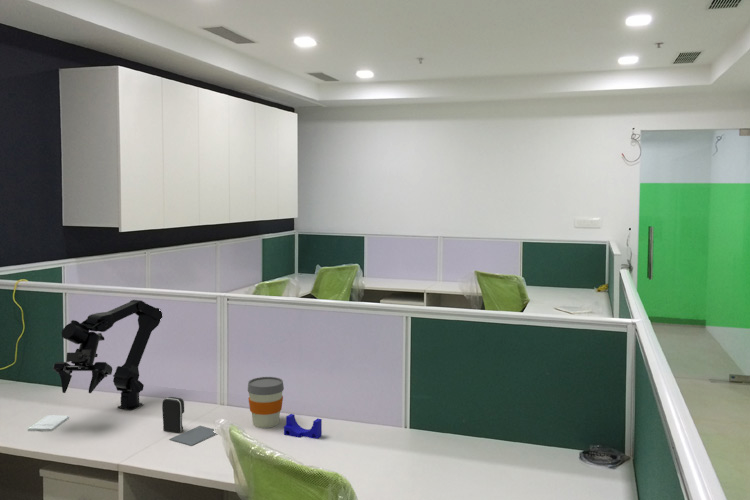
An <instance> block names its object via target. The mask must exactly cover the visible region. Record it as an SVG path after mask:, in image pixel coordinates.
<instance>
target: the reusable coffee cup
mask: <svg viewBox="0 0 750 500" xmlns="http://www.w3.org/2000/svg"><path fill="white" fill-rule="evenodd" d="M283 391H284V380H283V379H282V378H280V377H276V376H275V377H274V376H262V377H261V376H259V377H256V378H252V379H249V380H248V384H247V392H248V396H249V397H248V399H247V400H248V404H249V411H250V412H251V417H252V418H251V419H252V425H253V426H254V427H256V428H262V429H263V428H264V429H267V428H272V427H276V426H278V425H279V423H280V415H281V410H282V408H283V401H284V396H283Z"/></svg>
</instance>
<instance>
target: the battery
mask: <svg viewBox="0 0 750 500" xmlns="http://www.w3.org/2000/svg"><path fill="white" fill-rule="evenodd" d="M161 405H162V425H163V426H162V427H163V428H162V430H163V431H166V432H171V433H182V432H183V431H184V426H183V414H184V413H185V400H184V399H183V398H181V397H174V396H169V397H166V398H164V399H163V401H162V404H161Z"/></svg>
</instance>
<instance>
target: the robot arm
mask: <svg viewBox="0 0 750 500" xmlns="http://www.w3.org/2000/svg"><path fill="white" fill-rule="evenodd" d="M159 309H160V308H159V307H155V306H152V305H150V304H148V303H146V302H145V301H143V300H139V299H132V300H130V301H129V302H127V303H124V304H122V305H120V306H117V307H115V308H113V309H111V310H108V311H105V312H96V313H92V314H89V315H88V316H87V318H86V319H85V320H83V321H81V322H80V321H77V320H73V319H72V320H70V323H68V324H67V325H65V326H64V327H63V328H62V330H61V336H62V338H63V339H65V340H67V341H68V342H70V343H74V344H75V345H79V347H78V348H76V349H75V352H66V358H65V359H66V360H65V361H56V362H54V363H53V366H52V370H53V371H54V372H56V374H58V375H59V377H60V381H61V389H62V390H61V391H62V393H63V394H65V393H66V392H67V390H68V387H69V385H70V383H71V380H72V377H73V375H72V373H73V372H91V380H90V383H89V386H88V394H92V393H93V392H94V390H95V389H96V387H97V386H98V385H99V384H100V383H101V381H103V379H105V378H107V377H108V376H109V375H110V376H111V375H112V374H113V367H112V366H111V364H110V363H109V364H108V362H106V361H96V362H95V358H98V353H97V351H98V347H99V343H100V342H101V341H105V337H104V336H103V334H102V333H105V332H107V331H108V330H110V329H111V328H112V327H113V326H114V324H116V322H118V321H120V320H121V321H122V320H123V319H124V318H125V319H126V318H127V317H129V316H131V315H134V314H135V315H136V316H137V324H138V329H137V332H136V335H135V337H134V339H133V342H132V345H131V347H130V349H129V351H128V354H127V358H126V359H125V362H124V364H123V365H121V366H119V365H118V366H116V367H115V372H114V374H113V375H112V377H113V378H112V379H113V380H112V381H113V384H114V386H115V388H116V391H120V405H118V406H117V408H118V409H124V410H134V409H137V408H139V407H141V406H143V405H144V404H143V402H140V393H141V392H143V390H144V385H145V384H143V383H142V381H140V380H139V377H140V371H139V365H140V363H141V361H142V357H143V355H144V353H145V350H146V348H147V345H148V342H149V340H150V337H151V334H152V331H154V330H156V328H157V327H158V326H159V325H160V323H161V321H160V319H161V318H162V319H163V316H162V314H163V311H162V310H161V311H162V312H161V311H159ZM162 319H161V320H162ZM96 332H99V333H96ZM70 362H71V364H73V365H71V364H70Z"/></svg>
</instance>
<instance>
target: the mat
mask: <svg viewBox="0 0 750 500" xmlns="http://www.w3.org/2000/svg"><path fill="white" fill-rule="evenodd" d="M214 429H215V428H210V427H206V426H202V425H198V426H195V427H193V428H192V429H189V430H187V431H184V432H181V433H179V434H178V435H175V436H173V437H171V438H169V439H168V440H169V441H173V442H175V443H179V444H183V445H187V446H189V447H193V446H195V445H197V444H199V443H201V442H203V441H205V440H208V439H210V438H212V437H214V436H216V435H217V434H216V433H214V432H213V431H214ZM215 434H216V435H215Z"/></svg>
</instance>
